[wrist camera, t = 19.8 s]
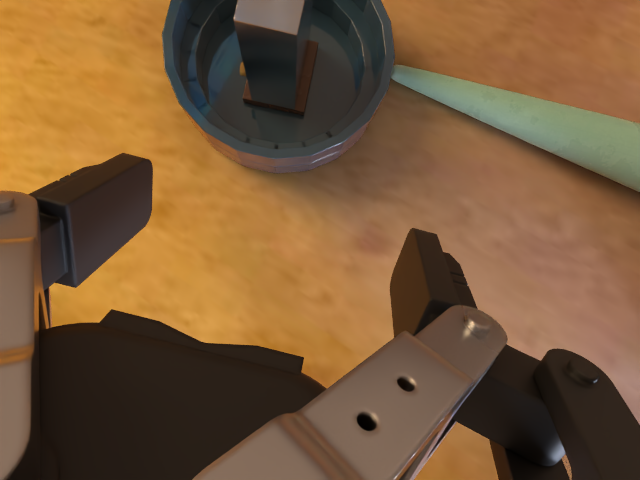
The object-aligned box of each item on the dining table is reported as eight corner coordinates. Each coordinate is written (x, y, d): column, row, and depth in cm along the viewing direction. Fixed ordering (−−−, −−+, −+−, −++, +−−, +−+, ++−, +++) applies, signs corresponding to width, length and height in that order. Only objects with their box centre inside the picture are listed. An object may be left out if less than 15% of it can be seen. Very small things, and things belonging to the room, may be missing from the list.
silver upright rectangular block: (303, 116, 32) (310, 37, 21) (243, 102, 31) (218, 16, 21) (318, 47, 32) (331, -63, 22) (258, 33, 32) (242, -86, 21)
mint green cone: (418, 3, 28) (746, 137, 29) (398, 46, 34) (675, 157, 35) (394, 69, 28) (728, 203, 29) (377, 102, 33) (659, 213, 34)
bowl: (331, -40, 34) (338, -93, 29) (409, 131, 33) (430, 106, 28) (151, 25, 32) (126, -20, 27) (229, 205, 32) (218, 194, 27)
